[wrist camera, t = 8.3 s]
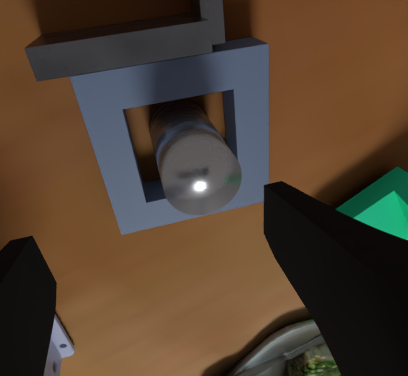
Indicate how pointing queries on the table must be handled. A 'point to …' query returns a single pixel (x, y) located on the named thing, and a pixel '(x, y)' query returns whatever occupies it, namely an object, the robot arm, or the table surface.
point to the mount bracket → (128, 42)
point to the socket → (167, 91)
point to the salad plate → (289, 354)
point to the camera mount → (382, 204)
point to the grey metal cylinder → (193, 159)
